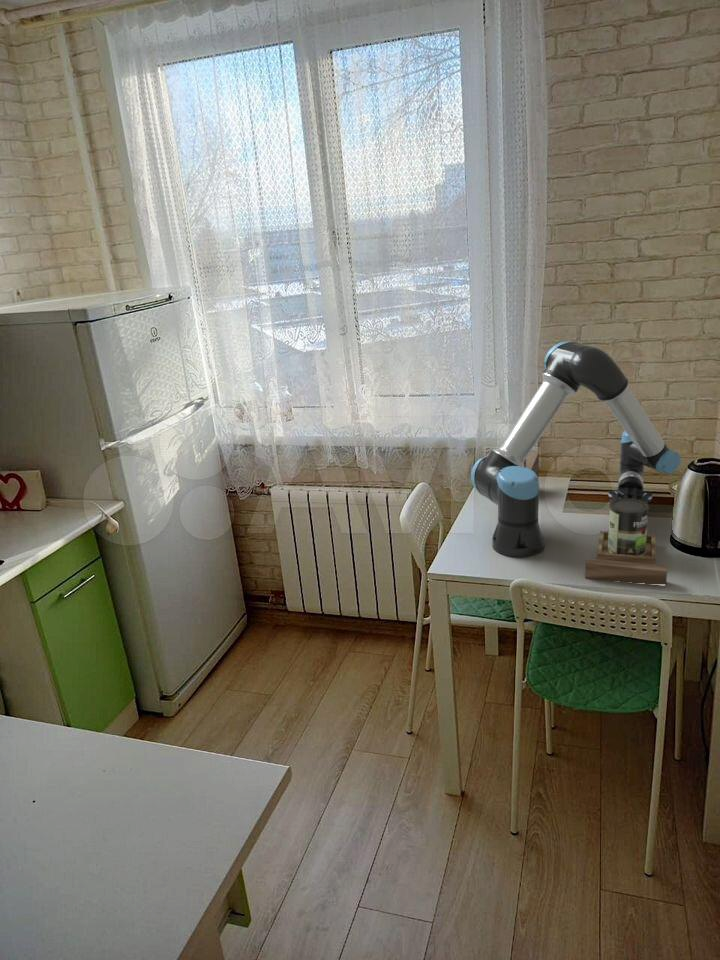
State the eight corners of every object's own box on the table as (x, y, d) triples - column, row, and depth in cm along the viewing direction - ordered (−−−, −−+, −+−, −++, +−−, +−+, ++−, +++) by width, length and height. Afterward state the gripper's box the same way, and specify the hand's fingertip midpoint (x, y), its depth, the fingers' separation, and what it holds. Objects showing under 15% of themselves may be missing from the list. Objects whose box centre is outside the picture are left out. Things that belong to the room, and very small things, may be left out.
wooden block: (538, 490, 252) (539, 441, 246) (522, 499, 245) (522, 450, 239) (529, 488, 255) (529, 440, 248) (513, 497, 248) (513, 448, 241)
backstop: (665, 588, 184) (667, 571, 182) (585, 579, 191) (585, 563, 190) (665, 582, 187) (666, 565, 185) (585, 574, 194) (586, 558, 192)
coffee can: (653, 550, 201) (657, 504, 196) (631, 562, 195) (634, 515, 190) (621, 539, 209) (624, 494, 204) (599, 550, 203) (601, 505, 198)
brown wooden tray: (654, 568, 193) (655, 559, 192) (596, 563, 198) (597, 553, 197) (654, 544, 206) (655, 535, 205) (600, 540, 211) (600, 531, 210)
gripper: (651, 499, 226) (652, 530, 206) (608, 496, 231) (604, 526, 211) (653, 477, 224) (653, 506, 203) (609, 474, 228) (605, 503, 208)
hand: (628, 516), depth 207 cm, fingers closed
